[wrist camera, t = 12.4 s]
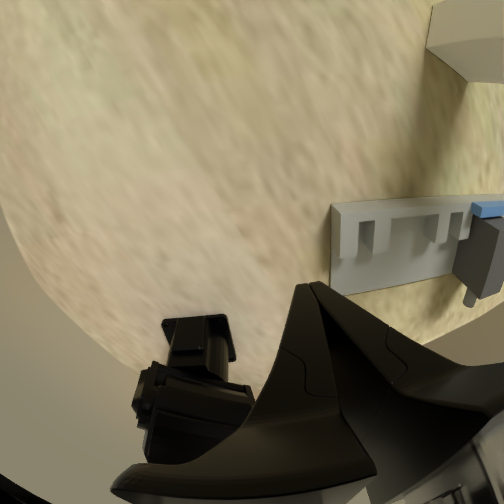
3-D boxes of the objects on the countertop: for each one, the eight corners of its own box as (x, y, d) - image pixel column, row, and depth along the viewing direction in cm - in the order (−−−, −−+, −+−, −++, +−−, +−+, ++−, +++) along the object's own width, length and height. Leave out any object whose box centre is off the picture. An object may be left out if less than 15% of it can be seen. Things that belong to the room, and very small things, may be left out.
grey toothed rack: (493, 260, 26) (511, 275, 22) (329, 295, 26) (341, 322, 22) (507, 193, 21) (529, 204, 18) (330, 202, 21) (348, 219, 18)
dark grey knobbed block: (466, 287, 27) (491, 313, 22) (445, 293, 27) (470, 322, 22) (484, 206, 22) (518, 227, 17) (463, 208, 22) (499, 230, 17)
